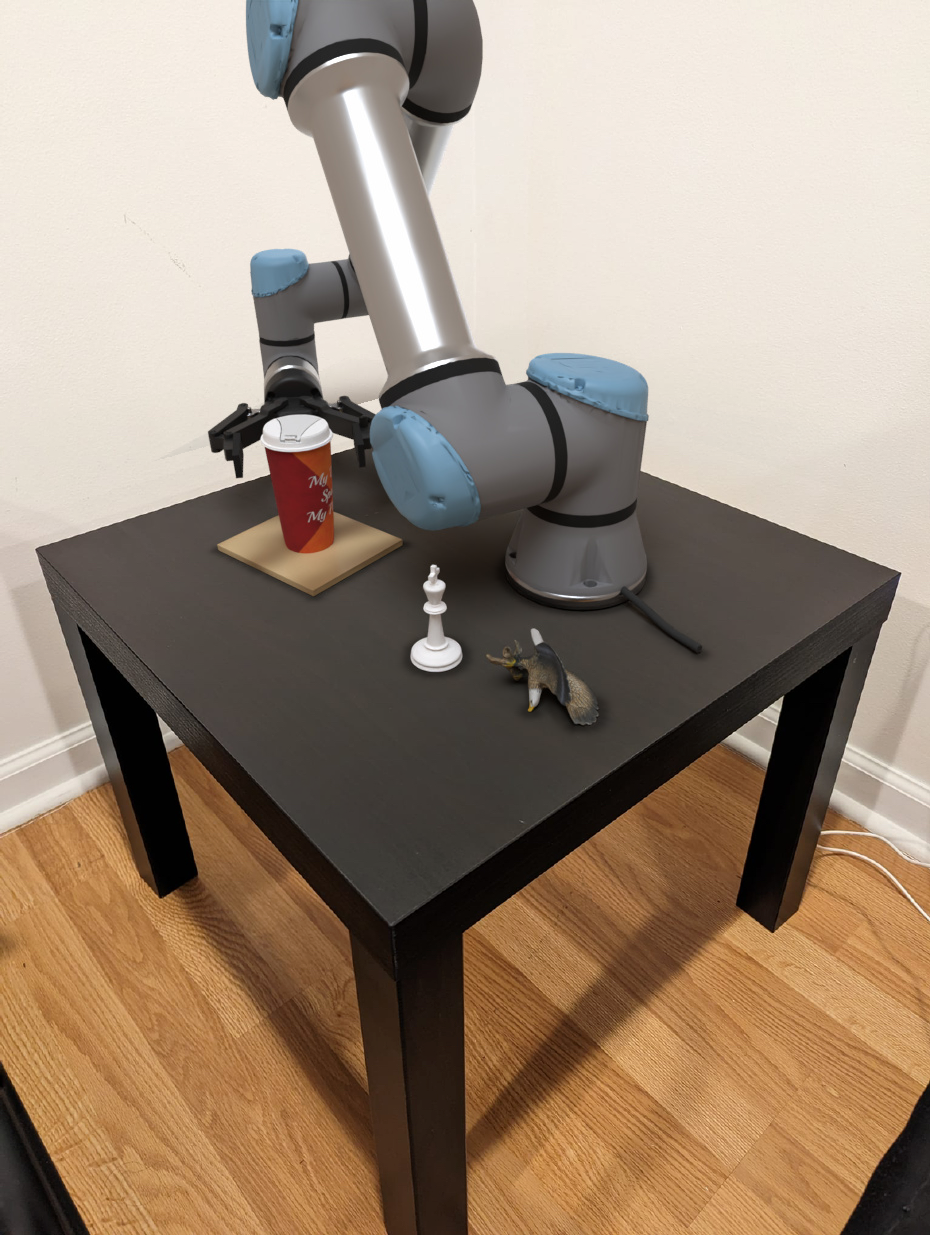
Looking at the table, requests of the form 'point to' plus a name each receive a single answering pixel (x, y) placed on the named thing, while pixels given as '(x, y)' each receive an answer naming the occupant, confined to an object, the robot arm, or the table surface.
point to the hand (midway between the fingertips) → (300, 461)
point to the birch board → (311, 570)
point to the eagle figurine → (550, 679)
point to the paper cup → (301, 480)
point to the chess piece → (435, 632)
